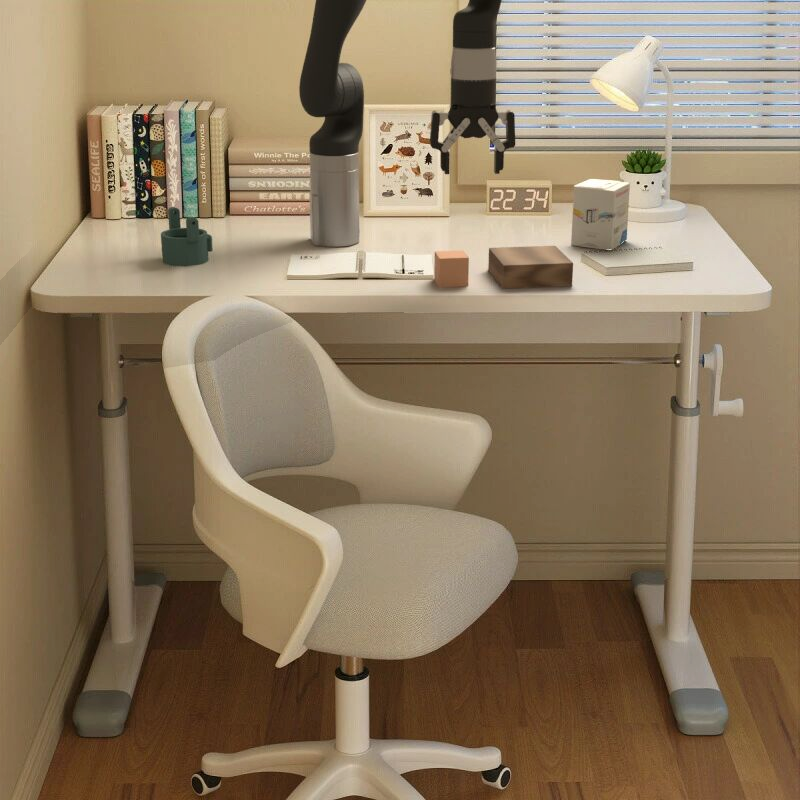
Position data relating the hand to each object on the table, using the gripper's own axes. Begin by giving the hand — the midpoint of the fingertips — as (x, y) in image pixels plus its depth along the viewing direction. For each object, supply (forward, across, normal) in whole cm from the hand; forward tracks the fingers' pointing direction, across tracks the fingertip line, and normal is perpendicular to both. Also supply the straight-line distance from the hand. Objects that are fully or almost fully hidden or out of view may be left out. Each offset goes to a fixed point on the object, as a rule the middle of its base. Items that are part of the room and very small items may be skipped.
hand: (471, 173), depth 213 cm
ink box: (+18, +27, +22) cm, 39 cm away
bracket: (+18, -50, +13) cm, 55 cm away
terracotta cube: (+18, -4, -4) cm, 19 cm away
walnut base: (+18, +10, -2) cm, 21 cm away
